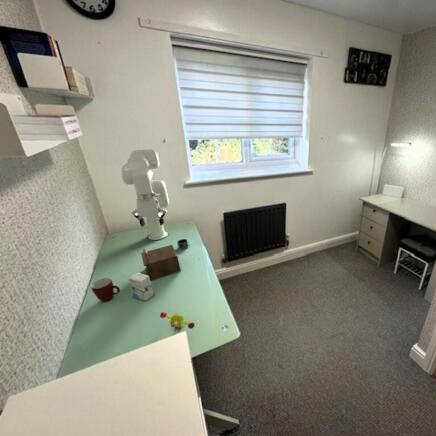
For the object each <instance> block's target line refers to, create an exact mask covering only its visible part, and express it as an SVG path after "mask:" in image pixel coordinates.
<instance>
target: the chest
mask: <svg viewBox="0 0 436 436" xmlns="http://www.w3.org/2000/svg"><path fill="white" fill-rule="evenodd" d="M145 268H146V271H147V276H149V278H150V282H151V281H154V280H157V279H160V278H164V277H166V276H170V275H172V274H176V273H179V272H181V266H180V262H179V257H175V258H172V259H168V260H165V261H161V262H158V263H154V264H151V265H147V266H145Z"/></svg>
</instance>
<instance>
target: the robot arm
mask: <svg viewBox="0 0 436 436" xmlns="http://www.w3.org/2000/svg"><path fill="white" fill-rule="evenodd" d="M129 156H130V157H129V158H127V162H126V163H125V164H123V166H122V167H121V180H122V181H123V183H125V185H131V186H132V185H133V186H134V189H135V194H136V209H135V210H132V211H131V214H132V216H134V218H136V220H138V221H139V225H140V226H141V227H143V228H144V226H145V225H146V223H145V219H146V222H147V226H148V230H149V235H148V239H149V240H151V241H159V240H162V239H164V238H166V237H168V235H169V234H168V232H167V231H165V227H164V224H165V221H164V217H165V216H166V214H167V212H168V210H167V209H166V208H168V207H169V206H170V199H169V194H168V189H167V186H166V183H165V181H163V180H162V179H154V178H155V175H154V172H153V171H152V170H157V169H159V168H160V159H159V155H158V152H157V151H156V150H154V149H135V150H133V151H132V152H131V153H130V155H129ZM144 218H145V219H144Z"/></svg>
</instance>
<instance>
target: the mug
mask: <svg viewBox="0 0 436 436" xmlns="http://www.w3.org/2000/svg"><path fill="white" fill-rule="evenodd" d="M90 288H91V290H92V293H93V294H94V296H95V297H96V298H97V299H98V300H99V301H101V302H103V303H107V302H110V301H111V300H112V299H113V297H114V296H115V295H118V294H119V293H120V292H121V289H120V287H119V286H118V285H114V282H113V280H112V279H111V278H110V277H104V278H103V277H102V278H100V279H98V280H96V281H94V282H93V283H92V284H91V286H90ZM115 290H116V292H115Z"/></svg>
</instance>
